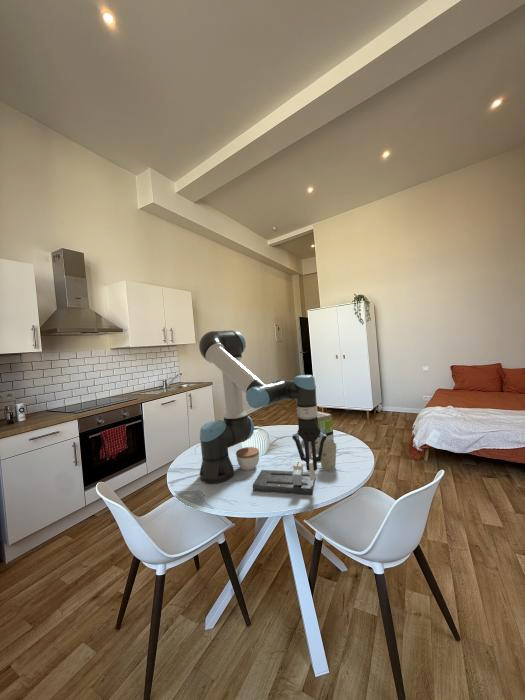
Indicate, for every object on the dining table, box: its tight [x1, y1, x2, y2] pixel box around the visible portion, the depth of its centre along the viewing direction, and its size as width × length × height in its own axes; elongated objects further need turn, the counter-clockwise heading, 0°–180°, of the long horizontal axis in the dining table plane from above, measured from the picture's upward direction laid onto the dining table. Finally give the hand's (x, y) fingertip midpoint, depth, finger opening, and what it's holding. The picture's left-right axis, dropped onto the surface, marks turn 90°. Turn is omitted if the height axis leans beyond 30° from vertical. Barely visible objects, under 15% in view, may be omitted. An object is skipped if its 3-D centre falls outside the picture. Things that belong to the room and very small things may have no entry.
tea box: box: [315, 410, 335, 444], centre depth 160 cm, size 15×10×15 cm, turn 32°
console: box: [252, 469, 316, 496], centre depth 112 cm, size 23×13×3 cm, turn 74°
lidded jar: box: [235, 446, 260, 471], centre depth 130 cm, size 11×11×9 cm
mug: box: [309, 441, 337, 471], centre depth 125 cm, size 8×13×10 cm, turn 78°
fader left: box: [293, 461, 304, 474], centre depth 114 cm, size 3×4×4 cm
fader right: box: [293, 469, 303, 485], centre depth 107 cm, size 3×4×4 cm
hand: (312, 478), depth 105 cm, fingers closed
